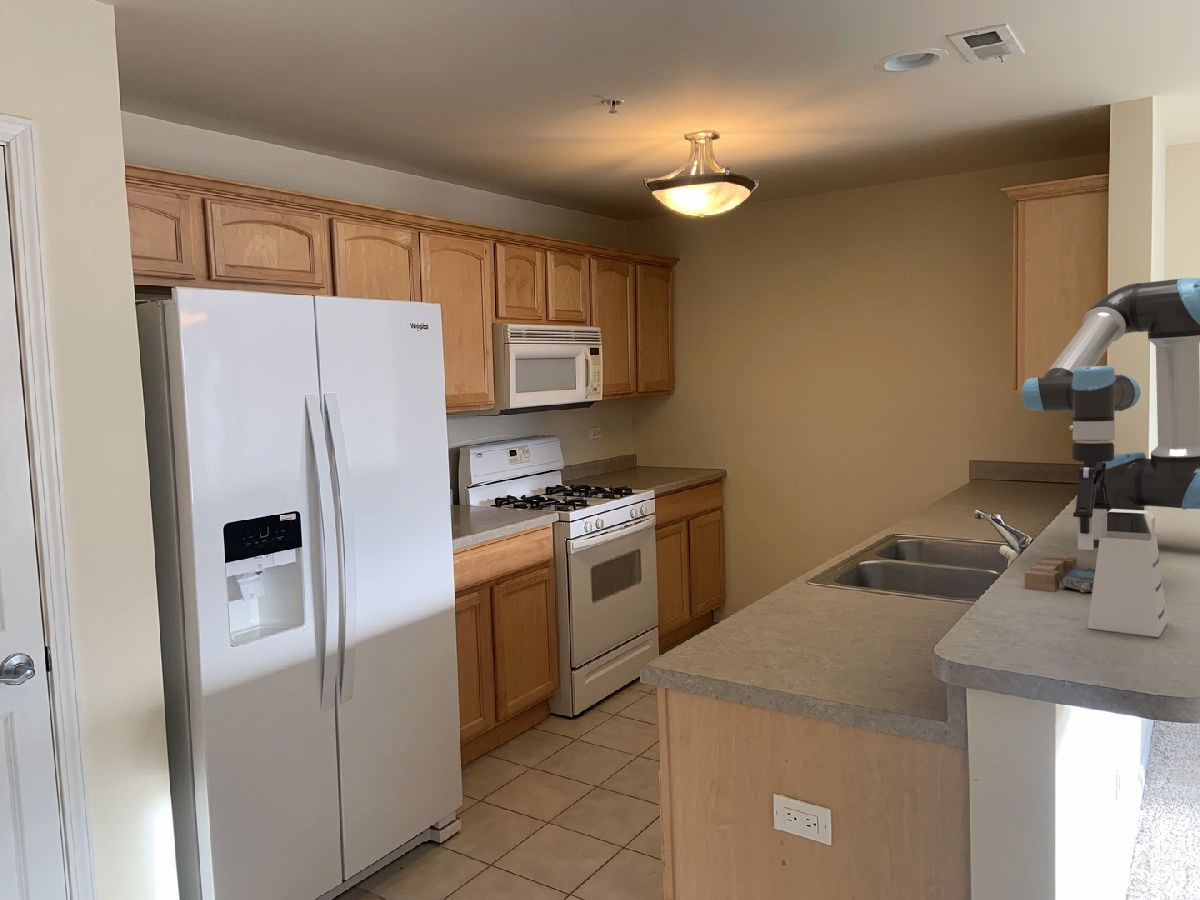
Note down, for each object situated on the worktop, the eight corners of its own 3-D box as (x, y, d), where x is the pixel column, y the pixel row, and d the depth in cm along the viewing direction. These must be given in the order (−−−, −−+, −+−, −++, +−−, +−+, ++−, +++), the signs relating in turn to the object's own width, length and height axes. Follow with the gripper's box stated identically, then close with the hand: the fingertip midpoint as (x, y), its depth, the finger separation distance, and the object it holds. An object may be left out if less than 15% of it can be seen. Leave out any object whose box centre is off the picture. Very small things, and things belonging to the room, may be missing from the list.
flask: (1121, 570, 181) (1109, 583, 173) (1121, 584, 181) (1108, 598, 173) (1071, 564, 187) (1057, 577, 179) (1071, 578, 188) (1057, 591, 180)
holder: (1049, 570, 199) (1049, 555, 198) (1159, 581, 185) (1159, 564, 185) (1024, 589, 182) (1024, 572, 182) (1143, 602, 169) (1143, 583, 169)
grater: (1099, 614, 161) (1099, 505, 160) (1167, 622, 155) (1168, 509, 153) (1087, 628, 153) (1087, 513, 152) (1158, 637, 147) (1159, 517, 145)
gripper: (1085, 437, 194) (1085, 534, 195) (1058, 445, 175) (1058, 552, 176) (1124, 438, 189) (1124, 537, 190) (1101, 445, 170) (1101, 555, 171)
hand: (1092, 544), depth 183 cm, fingers open, 13 cm apart
